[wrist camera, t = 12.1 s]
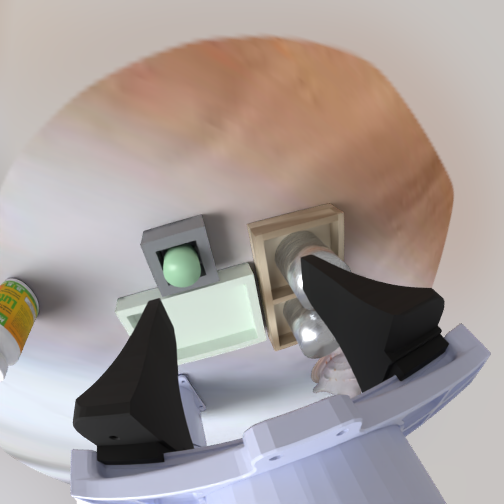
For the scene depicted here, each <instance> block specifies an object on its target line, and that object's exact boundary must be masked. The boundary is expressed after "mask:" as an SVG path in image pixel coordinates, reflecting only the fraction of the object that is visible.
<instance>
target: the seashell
mask: <svg viewBox="0 0 504 504" xmlns="http://www.w3.org/2000/svg"><path fill="white" fill-rule="evenodd" d="M311 378H312V380H313V381H314V382H315V383H318V384H317V385H316V386H315V387H314V389H313V392H314V393H318V392H328V393H331V394H334V395H337V394H340V395H349V397H350V399H351V398H353V397H355V396H357V395H359V394H361V389H360V387H359V384H358V382H357V380H356V378H355V375H354V373H353V371H352V369H351V367H350V365H349V363H348V361H347V359H346V357H345V355H344V353H343V351H342V350H341V348H340V347H339V348H338V349H337V350H335V351H334V352H333V353H331V354H329V355H327V356H325V357H322V358H320V359H319V360H318V362H317V363H316V364H315V366H314V367H313V369H312V373H311Z"/></svg>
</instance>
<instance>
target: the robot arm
mask: <svg viewBox="0 0 504 504" xmlns="http://www.w3.org/2000/svg"><path fill="white" fill-rule="evenodd" d="M300 259H301V272H302V286H303V291H304V293H305V295H306V296H307V298H308V300H309V302H310V304H311V305H312V307H313V308H314V310H315V311H316V312H317V314H318V315H319V316H320V318H321V319H322V321H323V322H324V323H325V325H326V326H327V327H328V329H329V330H330V331H331V333H332V334H333V336H334V337H335V339H336V341H337V342H338V344H339V346H340V348H341V350H342V351H343V353H344V355H345V357H346V359H347V361H348V363H349V365H350V367H351V369H352V371H353V373H354V375H355V378H356V380H357V382H358V384H359V387H360V389H361V391H362V393H361V394H359V395H357V396H355V397H353V398H351V399H350V397H349V395H340V394H337V395H334V396H331V397H328V398H325V399H322V400H320V401H318V402H315V403H313V404H310V405H308V406H305V407H302V408H300V409H297V410H294V411H291V412H289V413H286V414H283V415H280V416H277V417H274V418H271V419H267V420H265V421H262V422H260V423H257V424H255V425H253V426H251V427H250V428H249V429H247V430H246V431H245V432H244V434H243V438H241V439H237V440H233V441H229V442H225V443H221V444H216V445H211V446H206V438H205V434H204V429H203V424H202V419H201V413H200V411H204V410H206V406H205V405H204V404H203V402H202V401H201V399H200V398H199V396H198V395H197V393H196V392H195V390H194V389H193V387H192V386H191V384H190V382H189V381H188V379H187V378H186V376H184V375H180V376H178V362H177V343H176V337H175V331H174V326H173V324H172V322H171V320H170V318H169V316H168V314H167V312H166V310H165V308H164V306H163V303H162V301H161V299H160V298H157V299H154V300H150V301H148V303H147V305H146V307H145V309H144V311H143V313H142V315H141V317H140V319H139V321H138V323H137V325H136V327H135V329H134V331H133V333H132V334H131V336H130V338H129V340H128V341H127V343H126V345H125V346H124V348H123V349H122V351H121V352H120V354H119V355H118V357H117V358H116V359H115V361H114V362H113V363H112V364H111V366H110V367H109V368H108V369H107V370H106V372H105V373H104V374H103V375H102V376H101V377H100V378H99V379H98V380H97V381H96V382H95V383H94V384H93V385H92V386H91V387H90V388H89V389H88V390H86V391H85V392H84V393H83V394H82V395H81V396H79V397H78V398H77V399H76V402H75V409H74V417H73V426H74V428H75V429H76V431H77V432H79V433H80V434H81V435H82V436H84V437H85V438H86V439H88V440H89V441H91V442H92V443H94V444H95V445H97V452H96V451H93V450H78V449H73V450H71V496H72V497H74V498H77V499H79V500H82V501H85V502H88V503H91V504H446V502H445V501H444V499H443V497H442V496H441V494H440V492H439V490H438V489H437V487H436V486H435V484H434V483H433V481H432V479H431V478H430V476H429V475H428V473H427V471H426V470H425V468H424V466H423V465H422V463H421V461H420V460H419V458H418V457H417V455H416V453H415V452H414V450H413V449H412V447H411V446H410V444H409V443H408V441H407V439H406V438H405V437H406V436H407V435H408V434H410V433H411V432H413V431H414V430H415V429H417V428H418V427H419V426H421V425H422V424H423V423H425V422H426V421H427V420H428V419H429V418H431V417H432V416H433V415H434V414H436V413H437V412H438V411H439V410H441V409H442V408H443V407H444V406H445V405H446V404H448V403H449V402H450V401H451V400H452V399H453V398H455V397H456V396H457V395H458V394H459V393H460V392H461V391H463V390H464V389H465V388H466V387H467V386H468V385H469V384H470V383H471V382H472V381H473V379H474V378H475V377H476V375H477V374H478V372H479V371H480V370H481V368H482V367H483V365H484V364H485V362H486V361H487V359H488V358H489V356H490V355H491V353H490V352H489V350H487V348H486V347H485V346H484V345H483V344H482V343H481V342H480V341H479V340H478V339H477V338H476V337H475V336H474V335H473V334H472V333H471V332H470V331H469V330H468V329H467V328H466V327H465V326H464V325H463V324H462V323H461V324H459V325H458V326H456V327H455V328H454V329H453V330H451V331H450V332H449V333H447V334H446V336H445V337H442V335H441V334H440V333H441V332H442V330H441V329H440V328H439V327H438V323H439V321H440V318H441V316H442V313H443V310H444V299H443V298H442V297H441V296H440V295H439V294H438V293H437V292H435V291H434V290H433V289H432V288H415V287H405V286H398V285H392V284H387V283H383V282H379V281H375V280H372V279H368V278H365V277H362V276H359V275H357V274H354V273H352V272H349V271H347V270H344V269H342V268H340V267H338V266H336V265H333V264H331V263H329V262H327V261H325V260H323V259H321V258H319V257H317V256H315V255H312V254H310V255H307V256H303V257H300Z"/></svg>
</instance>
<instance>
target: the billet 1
mask: <svg viewBox="0 0 504 504" xmlns="http://www.w3.org/2000/svg"><path fill="white" fill-rule="evenodd" d="M310 254H312V255H315V256H317V257H319V258H321V259H323V260H325V261H327V262H329V263H331V264H333V265H336V266H338V267H340V268H342V269H344V270H347V271H349V272H351V270H350V268H349V267H348V266H347V265H346V264H345V263H344V262H343V261H342V260H341V259H340V258H339V257H338V256H337V255H336V254H335V253H334V252H333V251H332V250H331V249H330V248H329V247H328V246H326V245H325V244H324V243H323V242H322V241H321V240H320V239H319V238H318V237H317V236H316V235H314V234H313V233H311V232H309V231H298V232H294V233H291V234H289V235H288V236H286V237H285V238H284V239H283V240H282V241H281V242H280V244H279V245H278V247H277V249H276V252H275V263H276V266H277V268H278V269H279V271H280V272H281V274H282V275H283V277H284V278H285V280H286V281H287V283H288V284H289V286H290V287H291V289H292V291H293V292H294V294H295V295H296V297H297V298H298V300H299V301H300V303H301V304H302V306H303V307H304V308H306V309H308V310H311V311H315V310H314V308H313V307H312V305H311V304H310V302H309V300H308V298H307V296H306V295H305V293H304V291H303V286H302V272H301V259H300V257H303V256H307V255H310Z"/></svg>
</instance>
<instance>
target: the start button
mask: <svg viewBox="0 0 504 504" xmlns="http://www.w3.org/2000/svg"><path fill="white" fill-rule="evenodd" d="M163 274H164V277H165V279H166V280H167V282H168V283H170V284H171V285H173V286H176V287H188V286H191V285H193V284H194V283H195V282H196V281H197V280H198V279H199V277H200V274H201V267H200V262H199V257H198V253H197V251H196V249H195V248H194V247H193V246H191V245H190V244H187V243H184V244H181V245H177V246H174V247H170V248H168V249H167V250H166V252H165V254H164V265H163Z"/></svg>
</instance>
